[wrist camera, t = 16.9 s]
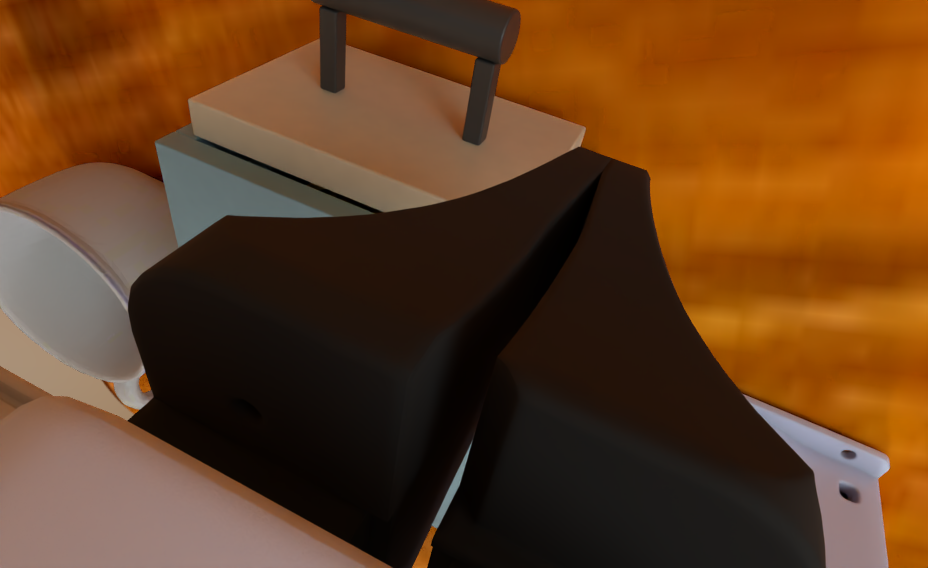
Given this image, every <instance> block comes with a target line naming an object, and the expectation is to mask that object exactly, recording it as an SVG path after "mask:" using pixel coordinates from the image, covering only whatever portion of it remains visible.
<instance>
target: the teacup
mask: <svg viewBox="0 0 928 568" xmlns="http://www.w3.org/2000/svg"><path fill="white" fill-rule="evenodd" d="M176 249H178V244H177V240H176V235H175V231H174V226H173V222H172V217H171V213H170V208H169V204H168V199H167V195H166V190H165V186H164V183H163V182H161V181H159V180H157V179H155V178H152V177H150V176H148V175H146V174H144V173H142V172H140V171H137V170H135V169H133V168H130V167H126V166H123V165H119V164H114V163H103V162H96V163H86V164H82V165H77V166H74V167H70V168H67V169H65V170H62V171H59V172H57V173H54V174H52V175H49V176H47V177H45V178H42V179H40V180H38V181H35V182H33V183H31V184H29V185H26V186H24V187H22V188H20V189H18V190H16V191H14V192H12V193H10V194H8V195H6V196H4V197H2V198H0V308H1V309H2V310H3V312H4V313H5V314H6V315H7V316H8V317H9V319H10V320H11V321H12V322H13V323H14V324H15V325H16V326H17V327H18V328H19V329H20V330H21V331H22V332H23V333H25V334H26V335H27V336H28V337H29V338H30V339H31V340H32V341H34V342H35V343H36V344H38V345H39V346H40V347H41V348H43V349H44V350H45V351H46V352H48V353H49V354H51V355H52V356H54V357H55V358H56V359H58V360H59V361H61V362H62V363H64V364H66V365H68V366H70V367H72V368H74V369H76V370H77V371H79V372H81V373H84V374H87V375H90V376H92V377H94V378H96V379H101V380H104V381H108V382H114V390H115V392H116V394H117V396H118V398H119V399H120V400H121V401H122V402H123V403H124V404H125V405H127V406H129V407H131V408H134V409H139V410H140V409H141V408H142V407H143V406H145V405H146V404H147V403H148V402H149V401H150V400H151V399H152V398H153V397H154V396H153V393H152V390H150V391H148V392H146V393H143V392H142V391H141V390H140V387H139V384H138V383H139V377H140V376H142V375H143V374H144V373H145V369H144V366H143V363H142V360H141V357H140V354H139V351H138V348H137V345H136V342H135V339H134V336H133V333H132V329H131V324H130V319H129V314H128V300H129V295H130V289H131V285H132V284H133V283H134V282H135V281H136V280H137V278H138V277H139V276H140V275H141V274H142V273H143V272H144V271H146V270H147V269H149V268H150V267H152V266H153V265H155V264H156V263H157V262H159V261H160V260H162V259H163V258H165V257H166V256H168V255H169V254H170V253H172V252H173V251H175V250H176Z"/></svg>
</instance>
